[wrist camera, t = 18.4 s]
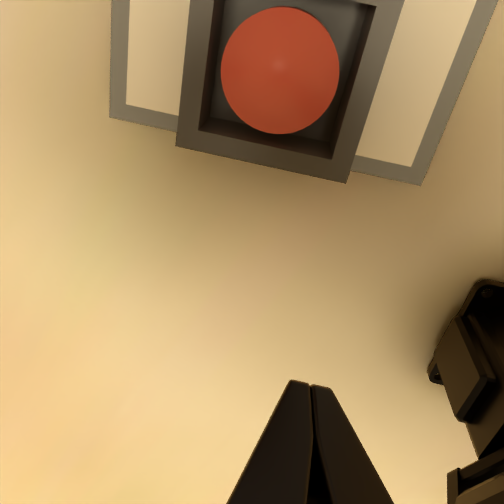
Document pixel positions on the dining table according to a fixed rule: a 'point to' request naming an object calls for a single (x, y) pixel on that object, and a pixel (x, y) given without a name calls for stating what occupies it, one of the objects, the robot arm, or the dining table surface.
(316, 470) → the robot arm
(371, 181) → the dining table surface
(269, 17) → the button
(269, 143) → the button housing
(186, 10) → the colouring board
